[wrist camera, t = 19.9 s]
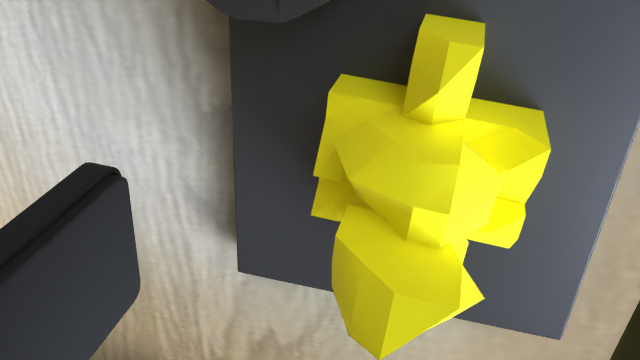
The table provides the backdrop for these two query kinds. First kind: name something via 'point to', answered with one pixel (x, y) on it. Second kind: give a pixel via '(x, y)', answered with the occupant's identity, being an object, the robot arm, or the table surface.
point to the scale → (491, 85)
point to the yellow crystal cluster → (421, 185)
